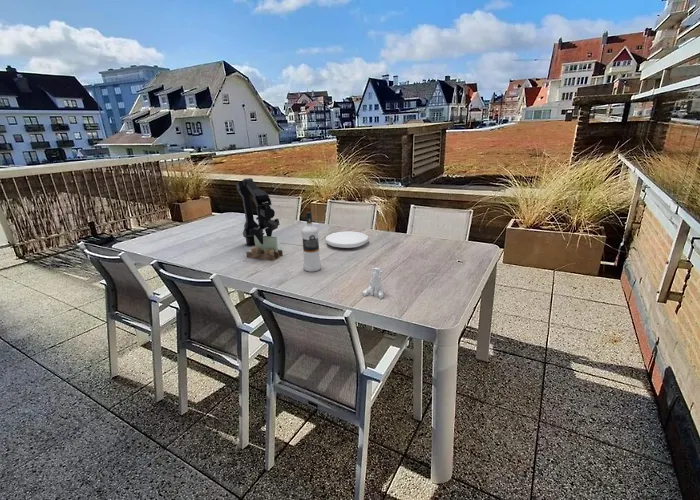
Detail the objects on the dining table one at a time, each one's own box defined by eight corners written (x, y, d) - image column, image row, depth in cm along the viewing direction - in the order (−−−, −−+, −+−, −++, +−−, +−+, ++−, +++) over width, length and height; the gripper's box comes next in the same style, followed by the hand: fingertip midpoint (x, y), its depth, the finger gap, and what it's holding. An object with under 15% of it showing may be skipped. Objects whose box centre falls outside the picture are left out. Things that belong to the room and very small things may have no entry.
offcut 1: (251, 256, 196) (250, 248, 194) (255, 255, 198) (254, 246, 197) (257, 257, 194) (256, 249, 193) (260, 255, 197) (259, 247, 195)
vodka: (320, 264, 185) (316, 209, 175) (322, 271, 177) (319, 213, 167) (302, 266, 183) (298, 210, 173) (304, 273, 175) (300, 215, 165)
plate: (331, 229, 231) (371, 230, 226) (332, 238, 233) (371, 240, 227) (320, 237, 204) (364, 239, 199) (320, 248, 206) (364, 250, 201)
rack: (246, 258, 196) (246, 252, 195) (256, 253, 204) (255, 247, 202) (274, 262, 190) (273, 255, 188) (282, 256, 197) (282, 250, 196)
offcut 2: (265, 258, 193) (264, 250, 191) (268, 256, 195) (267, 248, 194) (271, 259, 191) (270, 250, 190) (274, 257, 194) (273, 249, 192)
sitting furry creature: (361, 296, 150) (360, 270, 146) (367, 287, 158) (367, 263, 154) (382, 299, 147) (382, 273, 143) (387, 290, 155) (388, 265, 150)
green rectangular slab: (256, 253, 200) (253, 235, 196) (257, 253, 202) (255, 234, 198) (276, 256, 195) (275, 237, 191) (278, 255, 197) (276, 237, 193)
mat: (270, 249, 209) (270, 249, 209) (280, 243, 220) (280, 242, 220) (296, 252, 203) (296, 252, 203) (306, 246, 213) (306, 245, 213)
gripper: (265, 220, 180) (268, 249, 185) (284, 212, 196) (286, 238, 201) (247, 219, 184) (251, 247, 189) (267, 211, 200) (270, 236, 205)
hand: (265, 242), depth 196 cm, fingers open, 7 cm apart
